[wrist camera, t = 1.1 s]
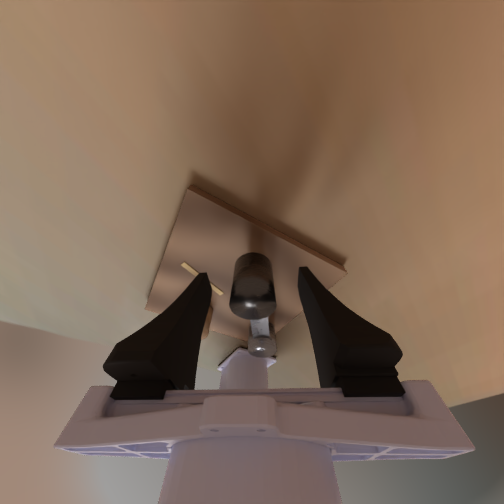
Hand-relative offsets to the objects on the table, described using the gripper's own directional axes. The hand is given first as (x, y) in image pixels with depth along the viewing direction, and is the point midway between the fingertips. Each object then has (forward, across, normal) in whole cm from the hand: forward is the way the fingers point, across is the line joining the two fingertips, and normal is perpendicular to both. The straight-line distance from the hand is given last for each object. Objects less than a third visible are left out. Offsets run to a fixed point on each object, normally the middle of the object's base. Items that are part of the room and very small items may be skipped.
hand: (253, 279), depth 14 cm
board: (+6, +3, +6) cm, 9 cm away
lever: (+4, 0, +7) cm, 8 cm away
